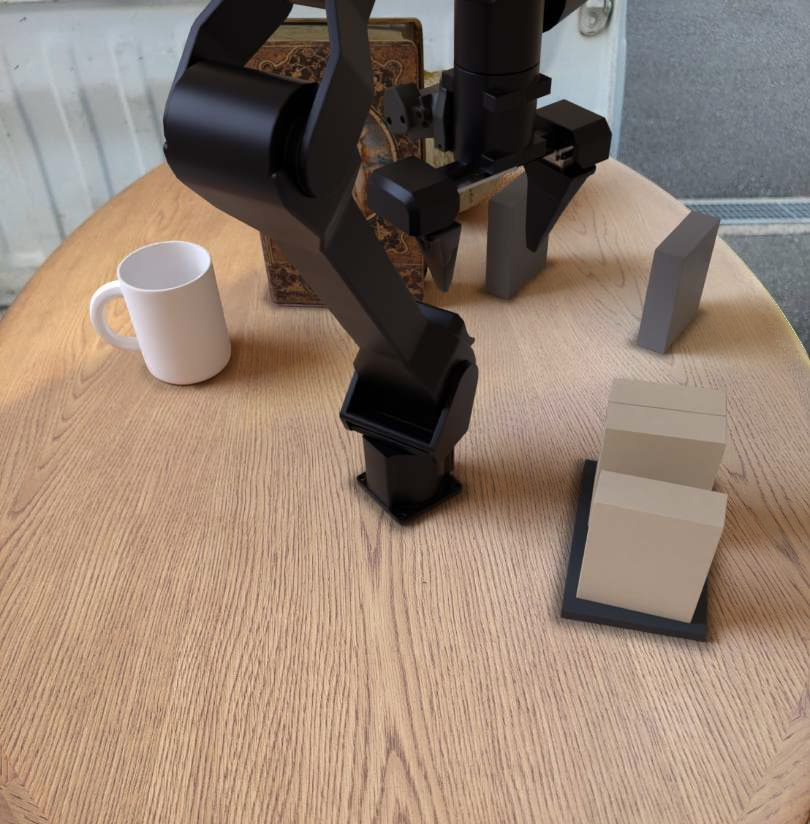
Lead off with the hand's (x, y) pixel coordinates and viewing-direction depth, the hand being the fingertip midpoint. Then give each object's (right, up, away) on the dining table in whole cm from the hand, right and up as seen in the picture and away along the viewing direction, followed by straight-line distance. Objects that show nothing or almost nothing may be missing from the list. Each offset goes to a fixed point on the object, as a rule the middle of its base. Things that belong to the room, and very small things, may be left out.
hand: (488, 269), depth 69 cm
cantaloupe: (-2, +18, +33) cm, 38 cm away
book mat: (+11, -22, -3) cm, 25 cm away
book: (-13, +4, +22) cm, 26 cm away
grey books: (+12, +3, +19) cm, 23 cm away
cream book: (+10, -25, -7) cm, 28 cm away
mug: (-29, -4, +15) cm, 33 cm away
